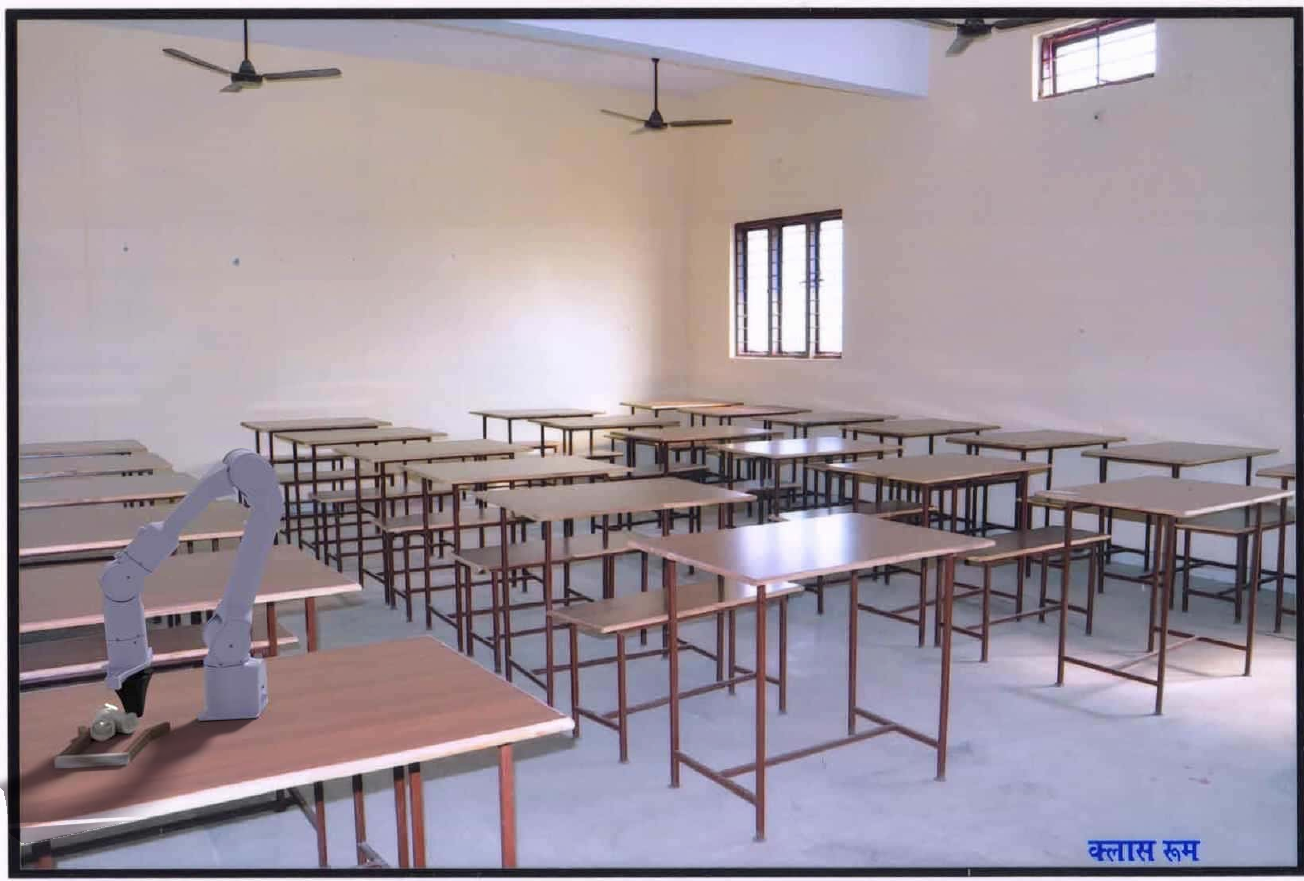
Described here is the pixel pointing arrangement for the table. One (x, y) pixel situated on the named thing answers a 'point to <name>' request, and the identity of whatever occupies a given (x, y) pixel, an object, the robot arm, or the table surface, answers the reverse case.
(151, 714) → the table surface
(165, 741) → the table surface
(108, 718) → the pipe fitting
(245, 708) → the robot arm
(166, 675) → the table surface
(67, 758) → the angular open frame
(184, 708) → the table surface
